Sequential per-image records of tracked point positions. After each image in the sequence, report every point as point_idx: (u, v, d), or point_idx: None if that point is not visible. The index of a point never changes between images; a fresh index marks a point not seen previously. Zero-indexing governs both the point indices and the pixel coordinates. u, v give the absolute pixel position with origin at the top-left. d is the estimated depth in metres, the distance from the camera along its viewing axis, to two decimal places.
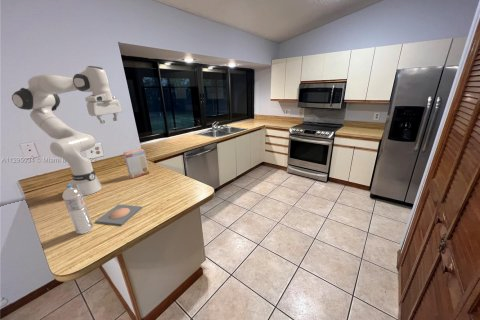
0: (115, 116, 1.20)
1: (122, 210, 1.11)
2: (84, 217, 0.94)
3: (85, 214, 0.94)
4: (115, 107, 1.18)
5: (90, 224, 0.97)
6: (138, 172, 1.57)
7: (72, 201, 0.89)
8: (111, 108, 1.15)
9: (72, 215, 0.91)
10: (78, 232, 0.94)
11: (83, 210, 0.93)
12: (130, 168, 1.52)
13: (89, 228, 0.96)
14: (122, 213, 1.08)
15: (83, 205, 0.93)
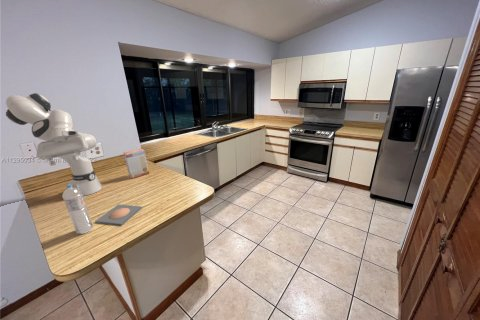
0: (51, 160, 0.94)
1: (122, 210, 1.11)
2: (84, 217, 0.94)
3: (85, 214, 0.94)
4: None
5: (90, 224, 0.97)
6: (138, 172, 1.57)
7: (72, 201, 0.89)
8: None
9: (72, 215, 0.91)
10: (78, 232, 0.94)
11: (83, 210, 0.93)
12: (130, 168, 1.52)
13: (89, 228, 0.96)
14: (122, 213, 1.08)
15: (83, 205, 0.93)
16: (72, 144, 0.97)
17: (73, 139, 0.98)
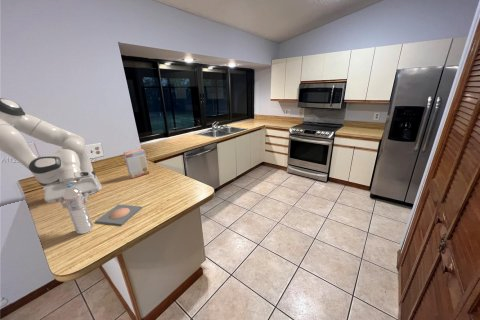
0: (63, 203, 0.91)
1: (122, 210, 1.11)
2: (84, 217, 0.94)
3: (85, 214, 0.94)
4: None
5: (90, 224, 0.97)
6: (138, 172, 1.57)
7: (72, 201, 0.89)
8: None
9: (72, 215, 0.91)
10: (78, 232, 0.94)
11: (83, 210, 0.93)
12: (130, 168, 1.52)
13: (89, 228, 0.96)
14: (122, 213, 1.08)
15: (83, 205, 0.93)
16: (84, 185, 0.96)
17: (85, 180, 0.97)
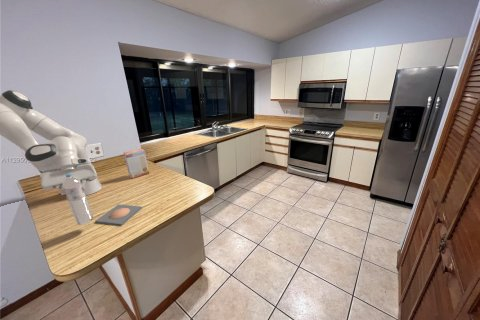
0: None
1: (122, 210, 1.11)
2: (85, 206, 0.93)
3: (86, 204, 0.94)
4: None
5: (91, 214, 0.97)
6: (138, 172, 1.57)
7: (73, 190, 0.89)
8: None
9: (73, 205, 0.90)
10: (79, 222, 0.93)
11: (84, 199, 0.93)
12: (130, 168, 1.52)
13: (90, 218, 0.96)
14: (122, 213, 1.08)
15: (84, 194, 0.93)
16: (82, 172, 0.94)
17: (83, 167, 0.95)
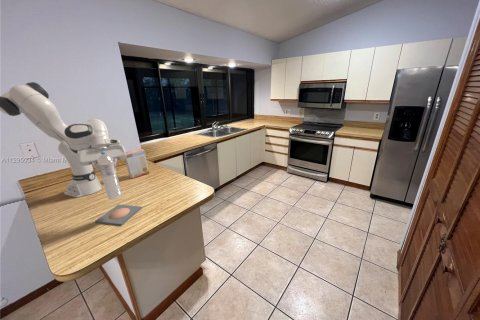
0: None
1: (122, 210, 1.11)
2: (116, 183, 1.02)
3: (117, 180, 1.02)
4: None
5: (120, 190, 1.05)
6: (138, 172, 1.57)
7: (107, 166, 0.97)
8: None
9: (106, 180, 0.99)
10: (111, 197, 1.02)
11: (116, 176, 1.01)
12: (130, 168, 1.52)
13: (120, 194, 1.05)
14: (122, 213, 1.08)
15: (115, 171, 1.01)
16: (114, 151, 1.03)
17: (114, 147, 1.04)
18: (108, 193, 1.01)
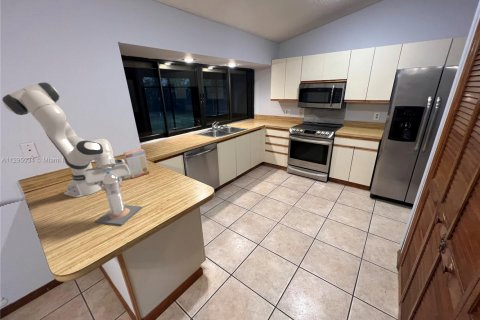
0: (101, 186, 1.02)
1: None
2: (120, 200, 1.05)
3: (121, 198, 1.05)
4: None
5: (124, 207, 1.08)
6: (138, 172, 1.57)
7: (112, 185, 1.00)
8: None
9: (111, 198, 1.02)
10: (115, 214, 1.05)
11: (120, 194, 1.04)
12: (130, 168, 1.52)
13: (124, 211, 1.08)
14: None
15: (119, 189, 1.05)
16: (118, 171, 1.06)
17: (119, 167, 1.07)
18: (112, 210, 1.04)
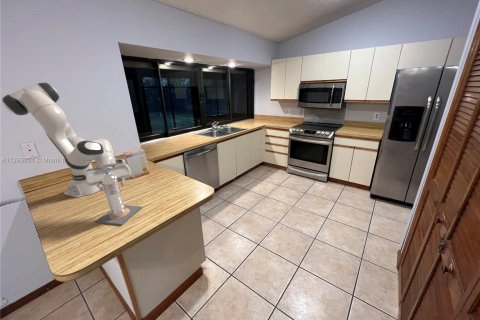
0: (99, 186, 1.01)
1: None
2: (120, 200, 1.05)
3: (120, 198, 1.05)
4: None
5: (124, 207, 1.08)
6: (138, 172, 1.57)
7: (111, 186, 1.00)
8: None
9: (110, 199, 1.02)
10: (115, 214, 1.05)
11: (119, 194, 1.04)
12: (130, 168, 1.52)
13: (123, 211, 1.08)
14: None
15: (119, 190, 1.04)
16: (119, 171, 1.07)
17: (119, 167, 1.08)
18: (112, 211, 1.04)
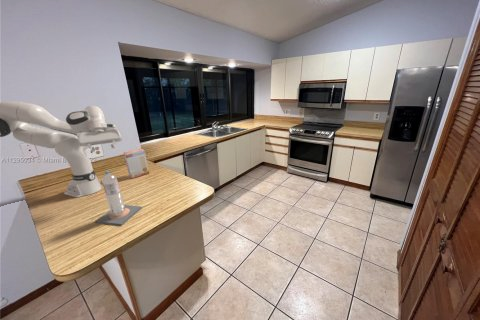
0: None
1: None
2: (120, 200, 1.05)
3: (120, 198, 1.05)
4: None
5: (124, 207, 1.08)
6: (138, 172, 1.57)
7: (111, 186, 1.00)
8: None
9: (110, 199, 1.02)
10: (115, 214, 1.05)
11: (119, 194, 1.04)
12: (130, 168, 1.52)
13: (123, 211, 1.08)
14: None
15: (119, 190, 1.04)
16: (109, 134, 1.14)
17: (110, 131, 1.15)
18: (112, 211, 1.04)
